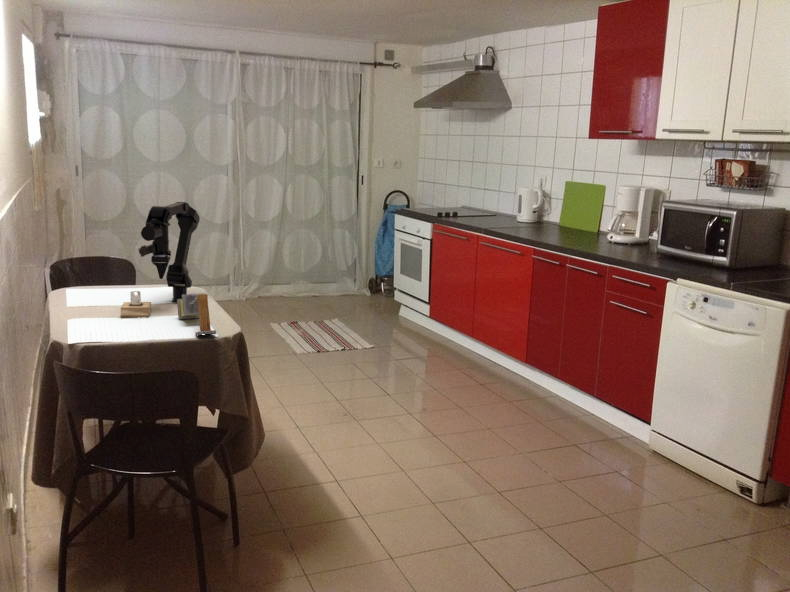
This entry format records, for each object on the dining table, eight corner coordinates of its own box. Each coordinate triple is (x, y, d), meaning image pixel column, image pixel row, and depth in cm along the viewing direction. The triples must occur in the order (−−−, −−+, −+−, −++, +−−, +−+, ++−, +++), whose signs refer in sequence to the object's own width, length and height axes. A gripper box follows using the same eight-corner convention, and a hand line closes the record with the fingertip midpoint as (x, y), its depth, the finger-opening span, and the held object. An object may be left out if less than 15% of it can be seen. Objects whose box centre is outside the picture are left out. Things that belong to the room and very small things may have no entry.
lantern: (180, 344, 263) (196, 334, 237) (176, 299, 265) (191, 286, 239) (201, 342, 267) (218, 333, 241) (197, 298, 269) (214, 284, 243)
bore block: (124, 312, 272) (123, 302, 271) (151, 311, 275) (150, 301, 274) (120, 318, 263) (120, 307, 262) (148, 317, 265) (148, 307, 264)
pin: (131, 311, 270) (130, 291, 268) (141, 311, 271) (140, 290, 269) (131, 313, 266) (129, 293, 265) (141, 313, 267) (139, 292, 266)
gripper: (141, 234, 282) (143, 272, 285) (136, 240, 265) (138, 281, 268) (170, 235, 285) (171, 272, 288) (167, 241, 267) (168, 281, 271)
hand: (162, 276), depth 279 cm, fingers open, 9 cm apart
